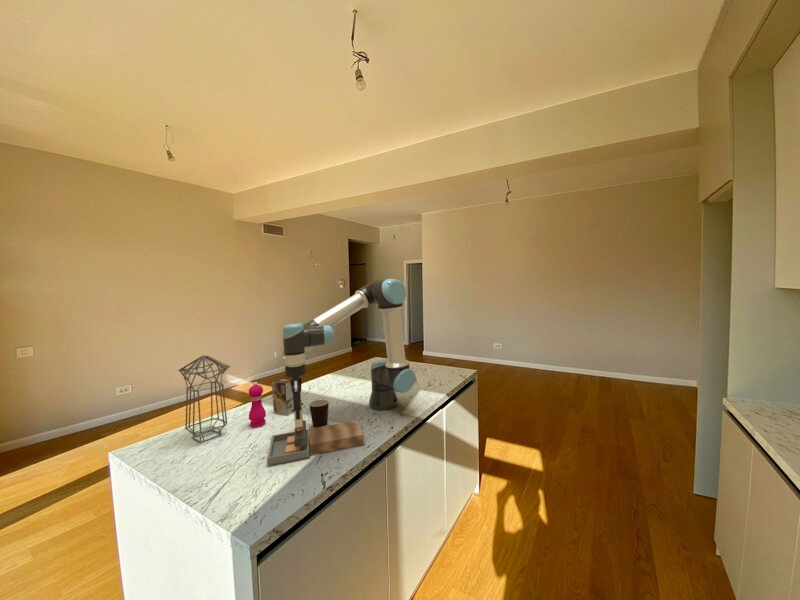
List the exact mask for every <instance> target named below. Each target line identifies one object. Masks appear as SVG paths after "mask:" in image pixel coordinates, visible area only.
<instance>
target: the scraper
mask: <svg viewBox="0 0 800 600" xmlns="http://www.w3.org/2000/svg"><path fill="white" fill-rule="evenodd" d="M300 399H301V400H302V397H300ZM301 409H302V410H303V405H302V404H301ZM306 429H307V421H306V420H304V416H303V414H302V427H297V428H295V427H294V432H295V436H294V443H295V447H297V446H301V445H306Z"/></svg>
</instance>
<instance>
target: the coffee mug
mask: <svg viewBox="0 0 800 600" xmlns="http://www.w3.org/2000/svg"><path fill="white" fill-rule="evenodd" d="M329 404H330V403H329V400H328V399H324V398H322V399H316V400H312V401H310V402H309V403H308V406H309V411H310V418H311V423H312V428H316V427H322V426H328V419H329V406H330V405H329Z"/></svg>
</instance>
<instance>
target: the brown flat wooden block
mask: <svg viewBox="0 0 800 600" xmlns="http://www.w3.org/2000/svg"><path fill="white" fill-rule="evenodd" d="M308 430H309V455H310V456H315V455H320V454H324V453H331V452H335V451H340V450H341V451H342V450H345V449H350V448H355V447H360V446H365V437H364V432H363V429H362V428H361V425H360V423H359V420H353V421H346V422H345V421H344V422H340V423H333V424H327V425H326V426H322V427H316V428H315V427H312V428H309V429H308Z"/></svg>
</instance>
